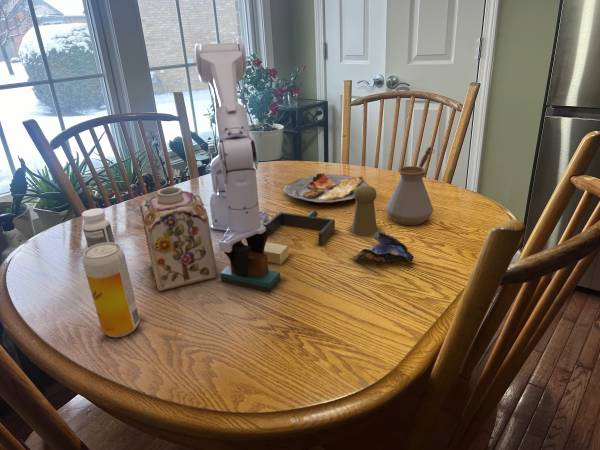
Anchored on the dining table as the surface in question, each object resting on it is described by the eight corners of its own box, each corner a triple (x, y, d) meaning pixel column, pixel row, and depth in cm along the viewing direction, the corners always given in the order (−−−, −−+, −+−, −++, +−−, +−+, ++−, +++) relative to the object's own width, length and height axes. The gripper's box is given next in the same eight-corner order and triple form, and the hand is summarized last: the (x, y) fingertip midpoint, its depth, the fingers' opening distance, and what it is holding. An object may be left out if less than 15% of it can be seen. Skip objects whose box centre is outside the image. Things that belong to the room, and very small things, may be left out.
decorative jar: (151, 266, 94) (135, 186, 86) (205, 254, 98) (194, 177, 90) (158, 293, 84) (140, 206, 76) (218, 278, 88) (206, 194, 80)
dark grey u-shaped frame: (264, 236, 105) (263, 224, 104) (289, 215, 116) (288, 204, 115) (321, 245, 99) (321, 233, 98) (342, 222, 110) (341, 211, 109)
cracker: (259, 260, 94) (258, 250, 93) (268, 252, 97) (267, 242, 96) (280, 264, 92) (279, 254, 91) (288, 255, 95) (288, 245, 94)
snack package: (361, 243, 99) (347, 266, 89) (367, 217, 97) (353, 238, 87) (414, 258, 96) (405, 284, 86) (421, 232, 93) (413, 256, 83)
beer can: (109, 318, 77) (88, 242, 71) (144, 315, 77) (126, 239, 71) (97, 341, 71) (74, 260, 65) (135, 337, 72) (115, 257, 66)
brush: (221, 281, 87) (217, 254, 84) (233, 270, 90) (230, 244, 88) (270, 292, 82) (267, 264, 80) (280, 280, 86) (278, 253, 83)
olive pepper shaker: (376, 236, 102) (377, 192, 97) (350, 235, 103) (350, 191, 99) (377, 225, 107) (379, 183, 103) (353, 224, 109) (353, 182, 104)
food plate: (317, 176, 145) (317, 165, 144) (381, 187, 132) (381, 176, 131) (270, 199, 127) (269, 188, 126) (338, 215, 114) (338, 202, 113)
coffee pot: (424, 231, 103) (429, 170, 97) (378, 223, 109) (380, 165, 102) (447, 202, 119) (453, 148, 113) (406, 195, 125) (410, 144, 119)
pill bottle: (104, 244, 105) (94, 205, 100) (121, 248, 102) (112, 209, 98) (84, 254, 100) (73, 215, 96) (102, 259, 97) (91, 218, 93)
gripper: (240, 222, 72) (248, 291, 78) (280, 193, 84) (284, 255, 89) (205, 216, 75) (215, 284, 80) (248, 189, 87) (254, 249, 92)
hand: (249, 268), depth 85 cm, fingers open, 5 cm apart
